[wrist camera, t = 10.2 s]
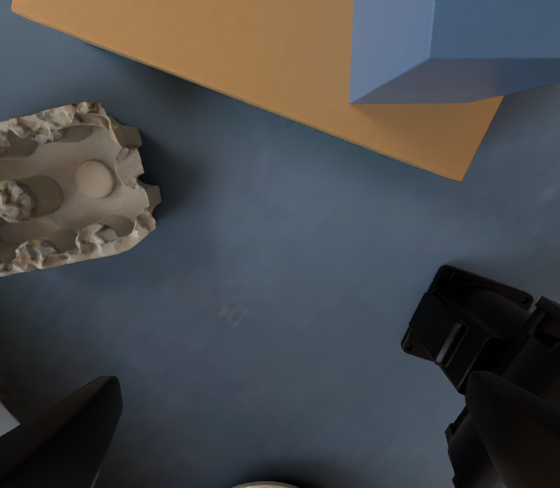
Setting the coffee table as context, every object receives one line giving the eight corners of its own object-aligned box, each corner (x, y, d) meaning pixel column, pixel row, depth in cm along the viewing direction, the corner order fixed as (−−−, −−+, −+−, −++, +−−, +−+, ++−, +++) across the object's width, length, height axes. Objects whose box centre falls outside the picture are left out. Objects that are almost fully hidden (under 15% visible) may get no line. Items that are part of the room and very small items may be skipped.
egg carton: (137, 102, 19) (101, 91, 15) (176, 231, 21) (153, 251, 17) (-44, 142, 19) (-125, 141, 15) (11, 264, 21) (-48, 291, 17)
